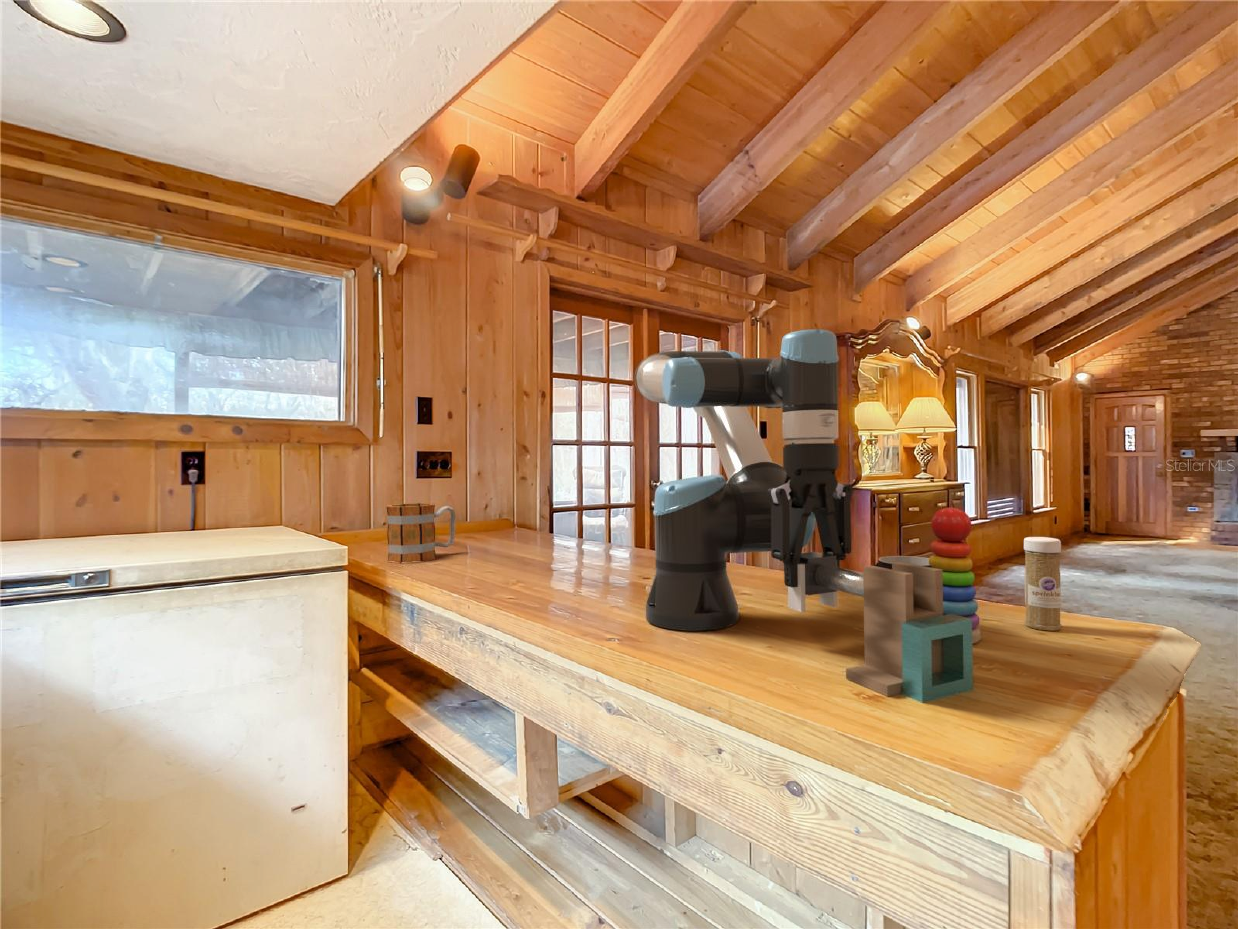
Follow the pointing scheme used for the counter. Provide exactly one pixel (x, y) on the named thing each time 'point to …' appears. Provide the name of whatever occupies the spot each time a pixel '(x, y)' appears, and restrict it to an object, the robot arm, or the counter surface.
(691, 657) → the counter surface
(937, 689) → the spacer
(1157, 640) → the counter surface
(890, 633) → the bearing block
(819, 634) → the counter surface
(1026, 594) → the sprinkles bottle
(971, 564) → the stacking toy
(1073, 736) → the counter surface
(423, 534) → the mug
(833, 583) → the shaft
